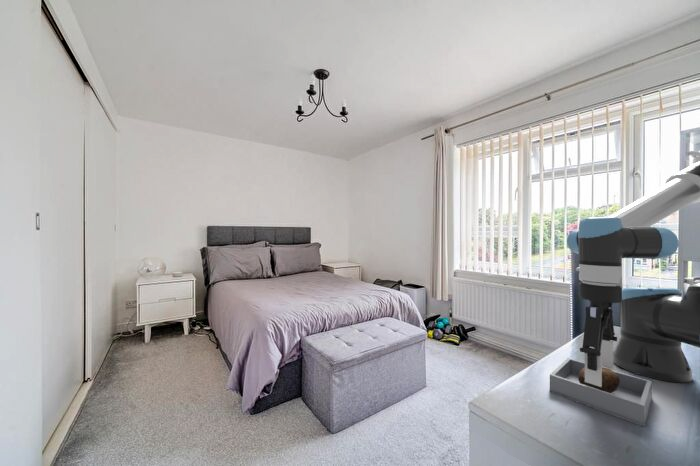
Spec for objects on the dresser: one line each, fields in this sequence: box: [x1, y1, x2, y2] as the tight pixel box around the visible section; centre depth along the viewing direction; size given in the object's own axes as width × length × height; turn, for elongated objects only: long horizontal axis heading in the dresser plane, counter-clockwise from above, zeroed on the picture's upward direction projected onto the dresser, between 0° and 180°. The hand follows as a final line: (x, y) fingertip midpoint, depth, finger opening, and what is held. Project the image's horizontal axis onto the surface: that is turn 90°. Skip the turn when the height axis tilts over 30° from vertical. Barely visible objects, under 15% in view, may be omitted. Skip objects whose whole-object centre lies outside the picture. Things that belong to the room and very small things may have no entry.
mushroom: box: [578, 366, 620, 393], centre depth 64 cm, size 8×8×6 cm
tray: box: [549, 357, 653, 427], centre depth 64 cm, size 15×15×4 cm
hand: (599, 374), depth 64 cm, fingers open, 13 cm apart
